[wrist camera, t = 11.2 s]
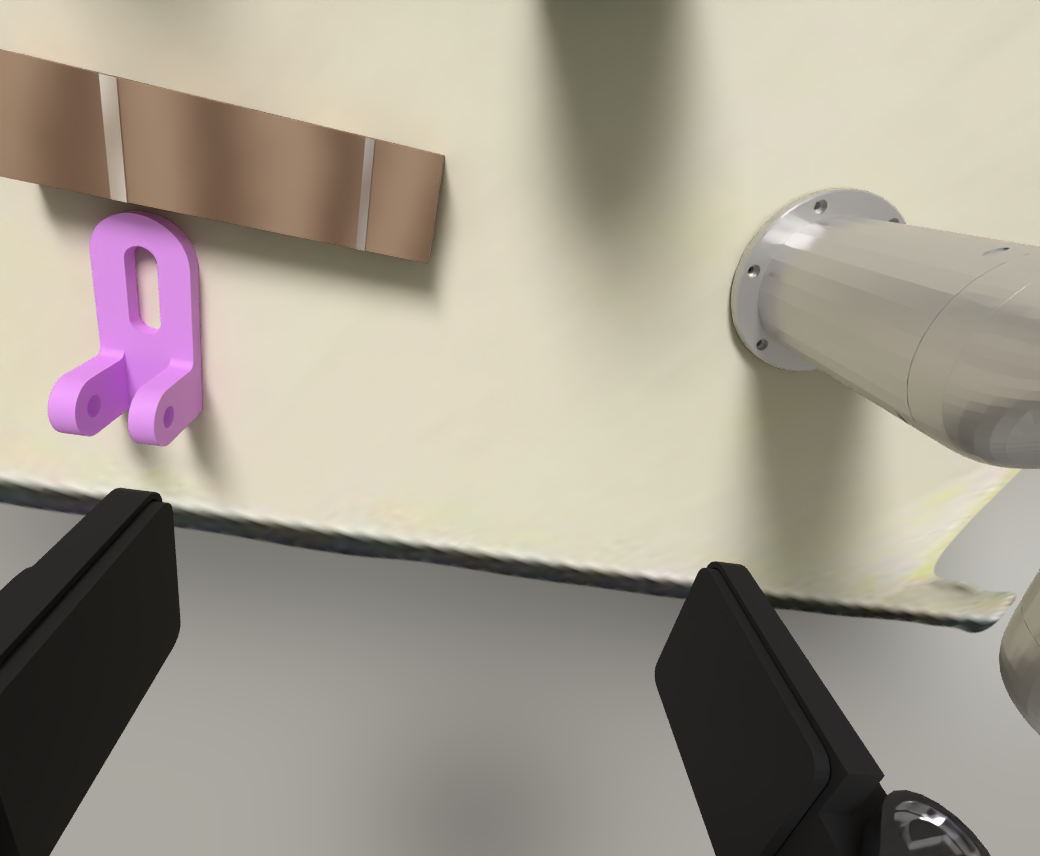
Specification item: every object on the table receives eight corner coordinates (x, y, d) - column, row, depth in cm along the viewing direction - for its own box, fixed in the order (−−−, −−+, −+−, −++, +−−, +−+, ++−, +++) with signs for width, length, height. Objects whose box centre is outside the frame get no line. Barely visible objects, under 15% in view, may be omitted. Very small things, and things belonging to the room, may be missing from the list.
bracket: (203, 409, 40) (156, 457, 33) (118, 396, 39) (53, 443, 32) (198, 221, 34) (139, 238, 28) (98, 201, 33) (14, 213, 27)
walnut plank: (444, 155, 34) (443, 155, 31) (430, 255, 36) (427, 263, 33) (16, 52, 29) (-30, 42, 27) (35, 173, 32) (-6, 175, 29)
